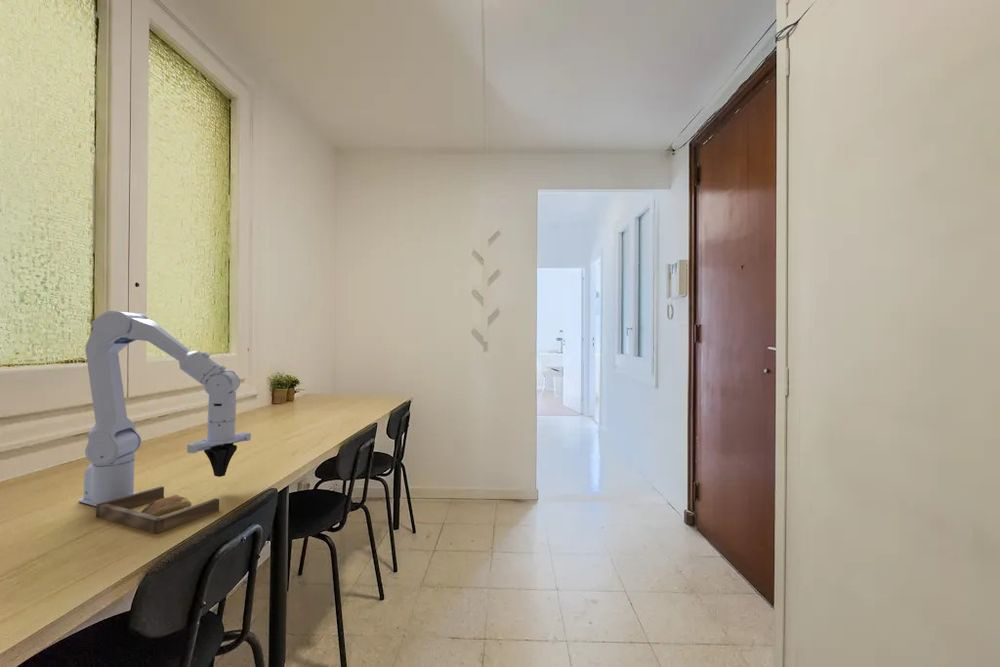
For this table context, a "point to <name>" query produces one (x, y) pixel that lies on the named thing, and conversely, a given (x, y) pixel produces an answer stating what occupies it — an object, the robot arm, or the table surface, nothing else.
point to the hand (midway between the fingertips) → (219, 475)
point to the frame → (121, 514)
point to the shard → (166, 505)
